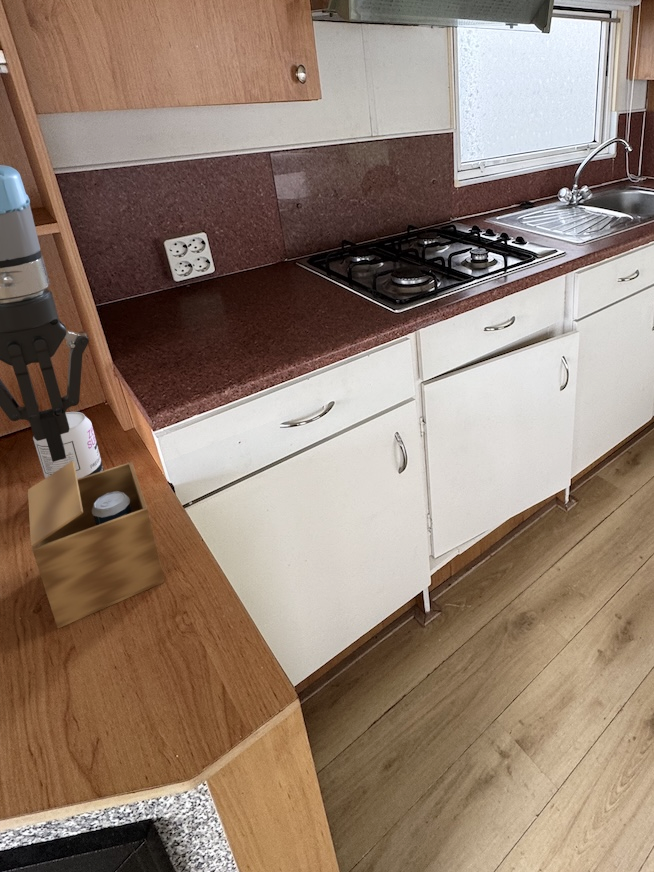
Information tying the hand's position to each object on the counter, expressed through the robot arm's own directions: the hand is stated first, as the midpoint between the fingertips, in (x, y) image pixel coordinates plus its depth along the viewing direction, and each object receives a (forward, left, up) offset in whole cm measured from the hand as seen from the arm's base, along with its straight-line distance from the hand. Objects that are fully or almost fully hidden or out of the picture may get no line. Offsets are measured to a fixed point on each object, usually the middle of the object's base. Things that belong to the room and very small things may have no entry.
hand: (58, 455), depth 79 cm
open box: (+2, 0, -22) cm, 22 cm away
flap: (-2, -1, -7) cm, 7 cm away
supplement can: (-8, +23, -22) cm, 33 cm away
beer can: (+4, +1, -22) cm, 22 cm away
